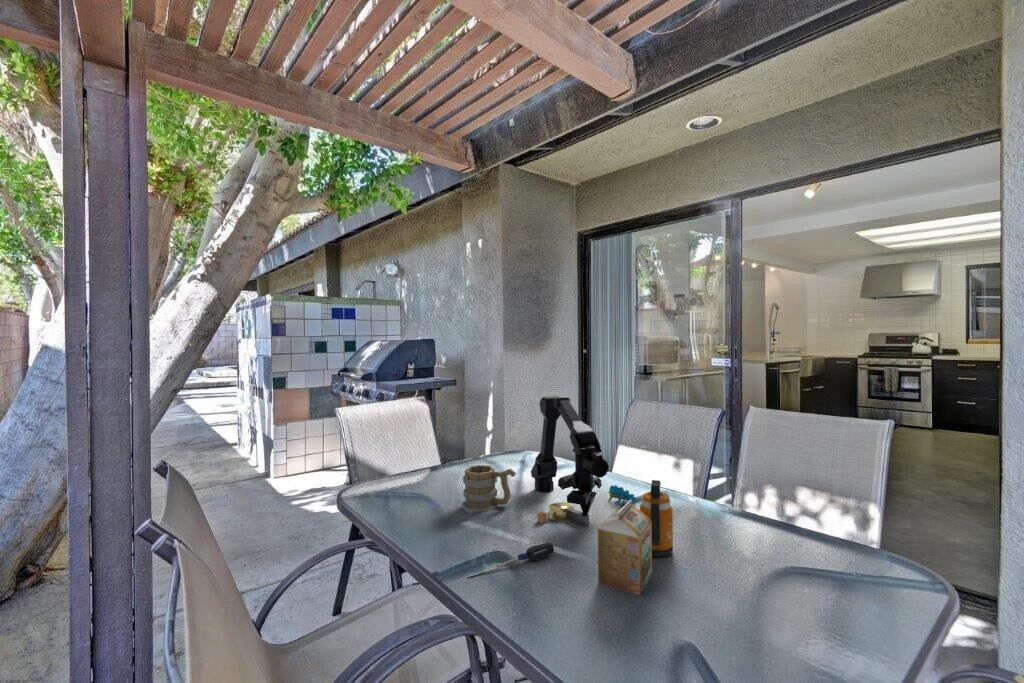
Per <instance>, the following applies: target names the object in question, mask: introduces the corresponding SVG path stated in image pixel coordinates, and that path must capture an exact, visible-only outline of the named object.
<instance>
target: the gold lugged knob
mask: <svg viewBox="0 0 1024 683" xmlns="http://www.w3.org/2000/svg"><path fill="white" fill-rule="evenodd" d="M548 509H549V511H548V519H550V520H552V521H554V520H562V521H564V520H568V521H570V522H573V523H574V524H577V525H579V526H581V527H584V528H586V527H588V526H590V514H589V513H588V514H585V513H583V512H582V511H580V510H578V509H575V504H573V503H568V502H555V503H554V502H553V503H551V504H549V508H548Z"/></svg>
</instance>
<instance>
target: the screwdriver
mask: <svg viewBox="0 0 1024 683" xmlns="http://www.w3.org/2000/svg"><path fill="white" fill-rule="evenodd" d="M554 551H555V547H554V545H553V543H552V542H549V541H548V542H544V543H541V544H536V545H533V546H530V547H529V548H528V549H527V550H526V551H525V552H524V553H520V554H517V557H516V558H513V559H510V560H508V561H505V562H502V563H500V564H497V565H494V566H491V567H490V568H494V567H498V568H500V567H499V566H501V567H504V566H506V565H509V564H512V563H515V562H517V561H524V560H528V561H530V560H531V562H534V561H533V560H536V561H538V560H540V559H543V558H546V557H548V556H550V555H552V554H553V553H554ZM537 559H538V560H537ZM503 565H504V566H503Z"/></svg>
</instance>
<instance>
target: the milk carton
mask: <svg viewBox="0 0 1024 683" xmlns="http://www.w3.org/2000/svg"><path fill="white" fill-rule="evenodd" d="M597 565H598V566H597V570H598V571H597V572H598V574H597V575H598V576H597V577H598V580H597V582H598V583H597V584H599V583H600V585H603V586H607V587H610V588H613V589H617V590H620V591H624V592H627V593H629V594H630V593H631V594H634V595H638V596H641V595H642V592H643V591H644V589H645V588H646V587H647V584H648V583H649V581H650V579H651V578H652V576H653V555H652V522H651V520H650V519H649V518H648V517H647V516H646V515H645V514H644V513H642V512H641V511H640V508H638V507H636V506H634V505H633V502H632V500H629V501H627V502H626V504H625V505H624V506H622V507H621V508H618V509H616V510H615V511H614V512H612V514H610V515H609V516H608V517H607V519H606V520H604V521H603V523H601V524H600V526H598V528H597Z"/></svg>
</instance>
